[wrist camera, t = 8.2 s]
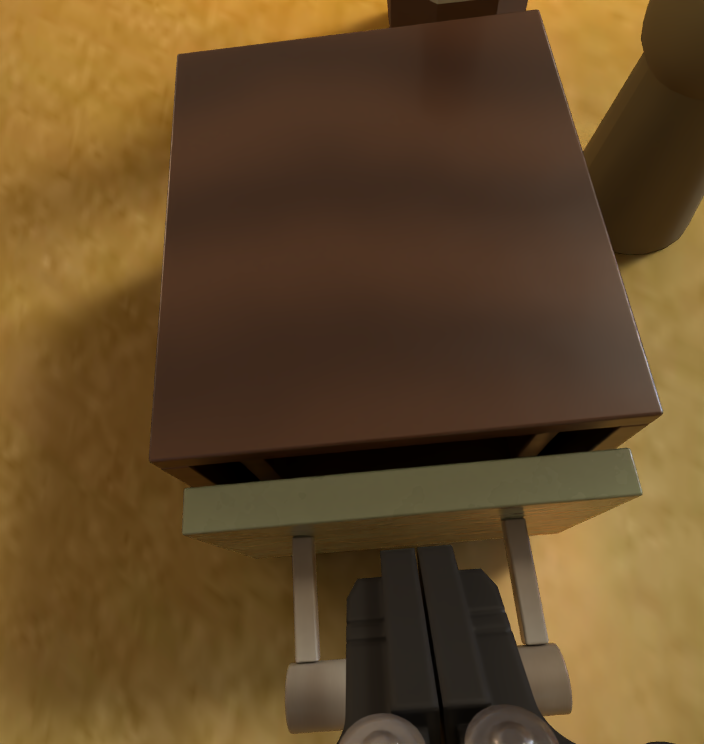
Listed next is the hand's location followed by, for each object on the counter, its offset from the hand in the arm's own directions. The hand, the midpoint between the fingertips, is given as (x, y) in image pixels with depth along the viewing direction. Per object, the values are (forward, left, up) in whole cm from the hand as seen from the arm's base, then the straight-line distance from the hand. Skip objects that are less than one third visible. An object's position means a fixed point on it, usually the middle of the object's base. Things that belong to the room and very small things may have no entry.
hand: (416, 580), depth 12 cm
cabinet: (-4, -10, -10) cm, 15 cm away
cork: (-17, -12, -10) cm, 23 cm away
